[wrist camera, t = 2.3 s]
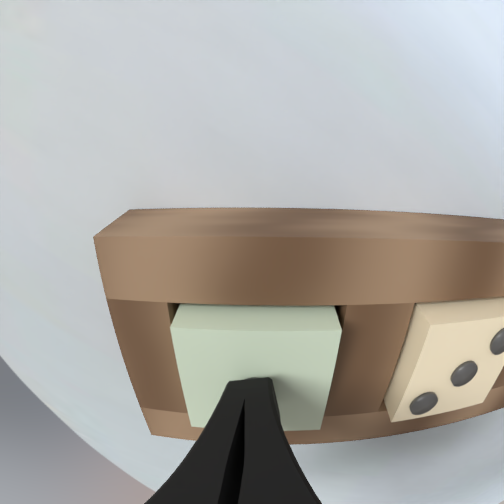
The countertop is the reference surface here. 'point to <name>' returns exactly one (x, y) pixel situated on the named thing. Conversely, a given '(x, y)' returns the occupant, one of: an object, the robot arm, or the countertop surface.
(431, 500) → the countertop surface
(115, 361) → the countertop surface
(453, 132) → the countertop surface
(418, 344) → the button three
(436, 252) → the frame
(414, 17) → the countertop surface
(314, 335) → the button one
